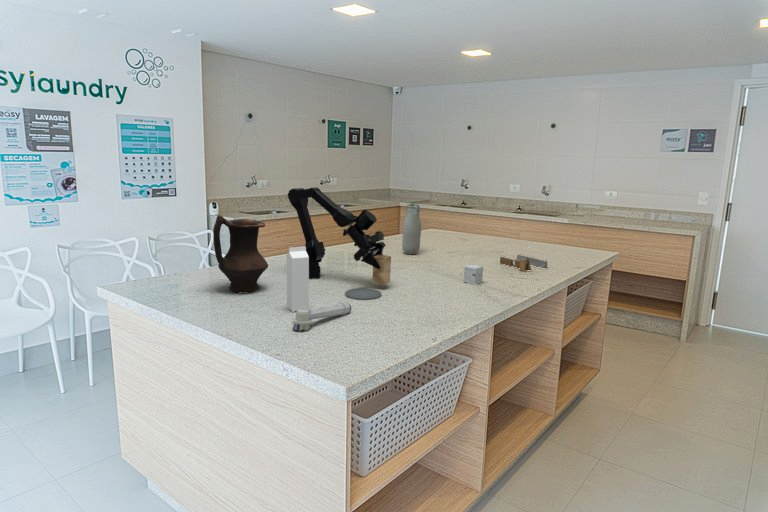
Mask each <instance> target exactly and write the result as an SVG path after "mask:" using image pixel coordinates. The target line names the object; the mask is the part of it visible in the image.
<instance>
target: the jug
mask: <svg viewBox="0 0 768 512" xmlns="http://www.w3.org/2000/svg"><path fill="white" fill-rule="evenodd" d="M223 225H225V226H226V227H227V228H228V231H229V249H228V251H227V252H226V254H225V255H224V257H223V254H222V253H223V252H222V251H223V250H222V245H221V236H220V235H221V229H222V226H223ZM265 226H266V223H265V222H263V221H260V220H255V219H248V218H238V219H231V220H230V219H229V220H228V219H226V218H225V217H224V216H223V215H221V214H218V215H217V216H216V219H215V223H214V226H213V229H212V230H213V232H212V233H213V246H214V247H213V248H214V254H215V258H216V261H217V263H218V264H217V265H218V269H219V270H220V271H221V273H222V274H224V276H225V277H226V278H227V279H228V281H229V282H230V285H229V287H228V288H229V289H228V290H229V291H230V292H233V293H237V292H250V293H253V291H254V292H256V290H257V291H258V290H259V285H258V283H257V282H258V281H259V279H260V277H261V276H262V275H263V273H264V272H265V271H266V269H268V267H269V263H268V262H267V261H266V259H265V258H264V257H263V255H262V254H261V253H260V252H259V249H258V239H259V231H260V229H259V228H265Z"/></svg>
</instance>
